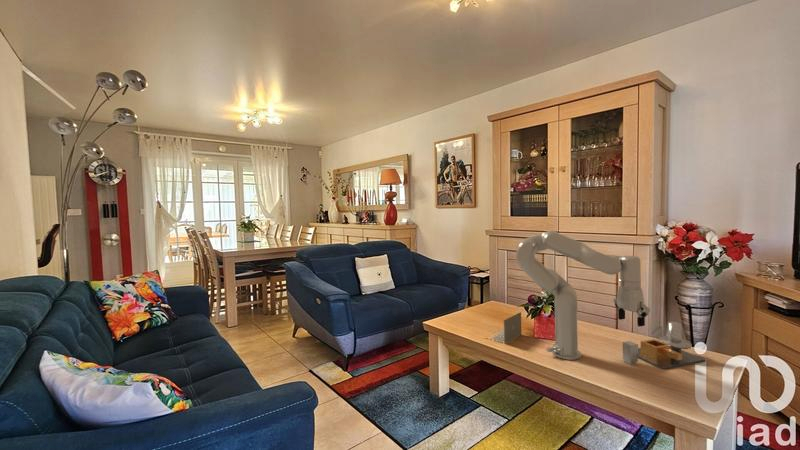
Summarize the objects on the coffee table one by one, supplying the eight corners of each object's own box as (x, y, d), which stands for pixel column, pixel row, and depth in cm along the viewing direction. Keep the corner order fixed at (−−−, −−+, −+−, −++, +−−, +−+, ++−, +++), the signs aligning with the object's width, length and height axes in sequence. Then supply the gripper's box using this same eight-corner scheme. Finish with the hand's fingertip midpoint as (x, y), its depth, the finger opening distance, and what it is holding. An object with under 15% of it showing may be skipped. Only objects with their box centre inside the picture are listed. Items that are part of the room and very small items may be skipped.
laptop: (501, 329, 202) (501, 307, 201) (521, 335, 193) (521, 312, 192) (484, 338, 189) (483, 315, 189) (505, 345, 180) (504, 320, 180)
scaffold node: (666, 371, 146) (666, 336, 145) (625, 352, 165) (625, 321, 164) (710, 363, 151) (710, 329, 151) (665, 345, 171) (665, 315, 170)
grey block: (630, 365, 152) (630, 345, 152) (622, 361, 156) (622, 342, 156) (637, 364, 153) (637, 344, 153) (630, 360, 157) (629, 340, 157)
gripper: (607, 281, 160) (608, 317, 161) (641, 289, 143) (642, 330, 144) (620, 279, 162) (621, 315, 163) (655, 287, 145) (656, 327, 146)
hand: (631, 322), depth 154 cm, fingers open, 9 cm apart
